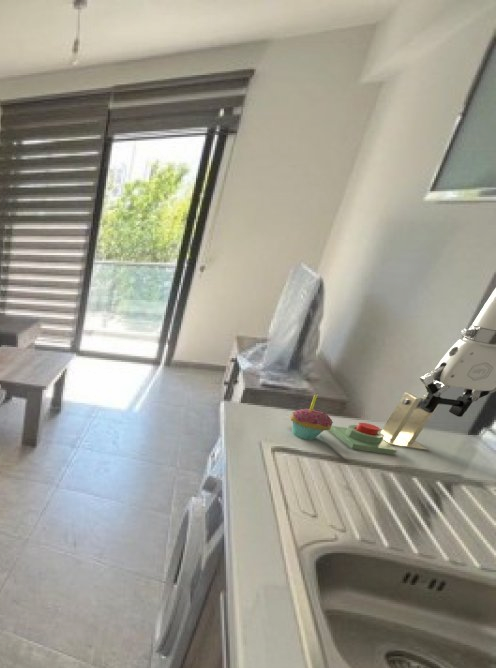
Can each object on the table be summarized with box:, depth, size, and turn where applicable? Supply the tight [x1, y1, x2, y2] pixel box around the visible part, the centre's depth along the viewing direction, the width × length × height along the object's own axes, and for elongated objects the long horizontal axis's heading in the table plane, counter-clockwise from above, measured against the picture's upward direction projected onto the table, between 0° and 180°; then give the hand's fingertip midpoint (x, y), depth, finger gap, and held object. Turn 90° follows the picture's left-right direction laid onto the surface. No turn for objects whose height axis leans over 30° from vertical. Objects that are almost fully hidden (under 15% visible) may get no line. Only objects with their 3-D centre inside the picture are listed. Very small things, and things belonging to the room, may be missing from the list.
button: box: [356, 422, 380, 436], centre depth 120 cm, size 4×4×2 cm
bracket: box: [379, 392, 439, 451], centre depth 122 cm, size 10×8×13 cm
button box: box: [329, 424, 397, 456], centre depth 121 cm, size 11×9×4 cm
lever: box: [415, 397, 463, 409], centre depth 116 cm, size 10×5×2 cm, turn 167°
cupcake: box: [289, 391, 334, 440], centre depth 123 cm, size 9×8×12 cm
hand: (440, 411), depth 113 cm, fingers closed on lever, 5 cm apart
